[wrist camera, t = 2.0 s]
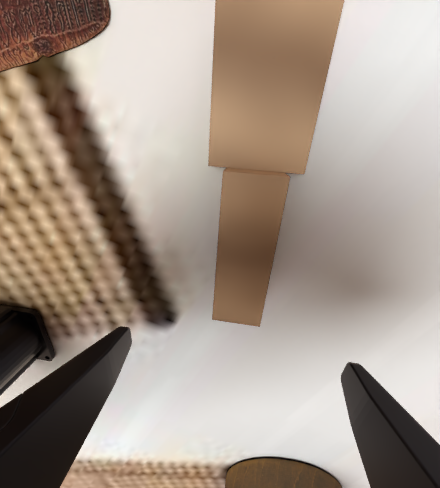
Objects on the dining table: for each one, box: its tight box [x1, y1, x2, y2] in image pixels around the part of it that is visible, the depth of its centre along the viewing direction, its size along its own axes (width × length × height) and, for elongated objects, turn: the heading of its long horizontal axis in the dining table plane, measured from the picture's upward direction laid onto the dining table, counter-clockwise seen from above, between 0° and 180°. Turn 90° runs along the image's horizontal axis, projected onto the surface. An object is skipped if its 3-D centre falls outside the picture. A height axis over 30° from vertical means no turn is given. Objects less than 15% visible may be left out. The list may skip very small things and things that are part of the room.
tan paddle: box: [208, 0, 344, 327], centre depth 11 cm, size 17×5×3 cm, turn 176°
